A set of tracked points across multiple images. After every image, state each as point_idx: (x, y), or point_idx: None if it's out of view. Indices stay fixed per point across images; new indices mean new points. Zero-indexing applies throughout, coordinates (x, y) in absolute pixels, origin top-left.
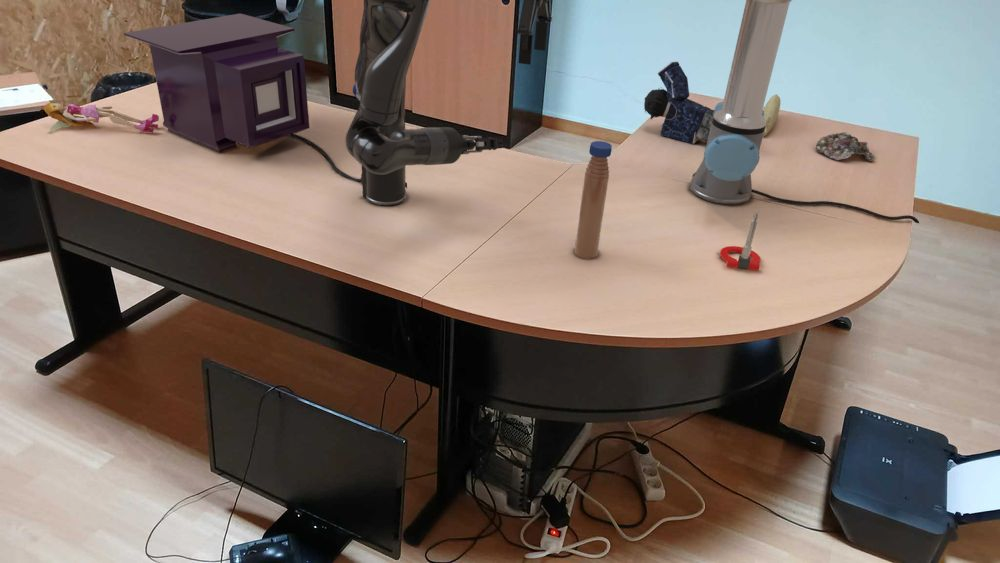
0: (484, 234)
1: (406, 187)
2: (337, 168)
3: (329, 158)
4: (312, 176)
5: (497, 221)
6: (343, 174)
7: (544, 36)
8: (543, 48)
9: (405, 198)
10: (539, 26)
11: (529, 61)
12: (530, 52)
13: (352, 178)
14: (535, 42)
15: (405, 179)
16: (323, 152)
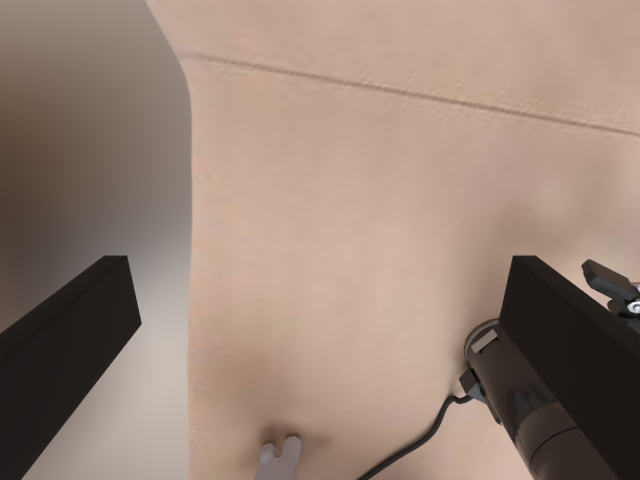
0: (610, 147)
1: (491, 331)
2: (425, 440)
3: (392, 462)
4: (451, 453)
5: (549, 140)
6: (439, 425)
7: (63, 324)
8: (122, 272)
9: (498, 319)
10: (18, 440)
11: (548, 268)
12: (589, 300)
13: (445, 410)
14: (116, 348)
15: (507, 342)
16: (372, 476)
